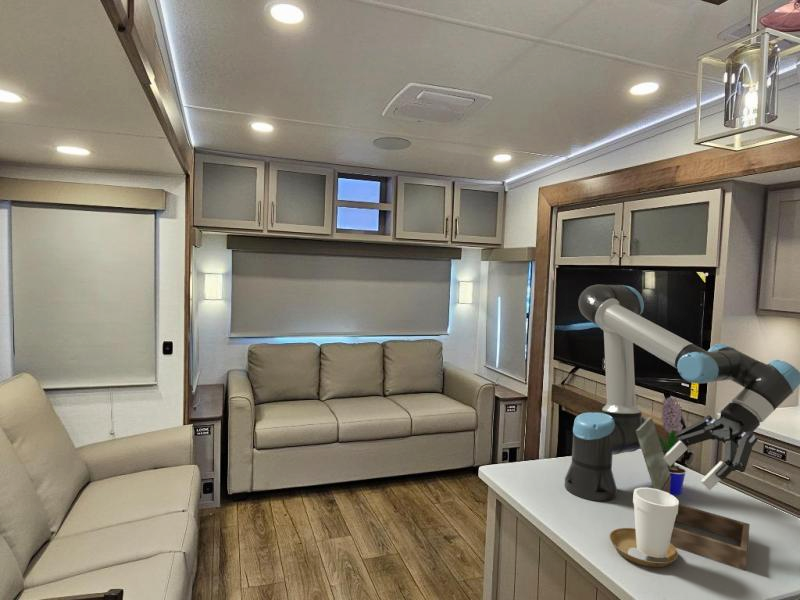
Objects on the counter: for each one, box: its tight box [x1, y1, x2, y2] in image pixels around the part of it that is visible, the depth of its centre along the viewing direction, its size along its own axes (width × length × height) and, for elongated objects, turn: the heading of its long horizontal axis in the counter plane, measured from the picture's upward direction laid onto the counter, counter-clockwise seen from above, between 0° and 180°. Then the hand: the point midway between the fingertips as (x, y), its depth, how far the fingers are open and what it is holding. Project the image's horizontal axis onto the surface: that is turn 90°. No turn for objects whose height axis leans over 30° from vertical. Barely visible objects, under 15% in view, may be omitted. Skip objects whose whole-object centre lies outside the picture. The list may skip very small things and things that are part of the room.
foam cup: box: [632, 487, 680, 559], centre depth 112 cm, size 10×9×13 cm
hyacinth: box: [658, 396, 687, 496], centre depth 150 cm, size 9×10×30 cm
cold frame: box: [636, 416, 750, 571], centre depth 122 cm, size 25×16×27 cm, turn 52°
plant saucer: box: [609, 527, 679, 568], centre depth 115 cm, size 15×15×3 cm
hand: (684, 473), depth 115 cm, fingers open, 13 cm apart
